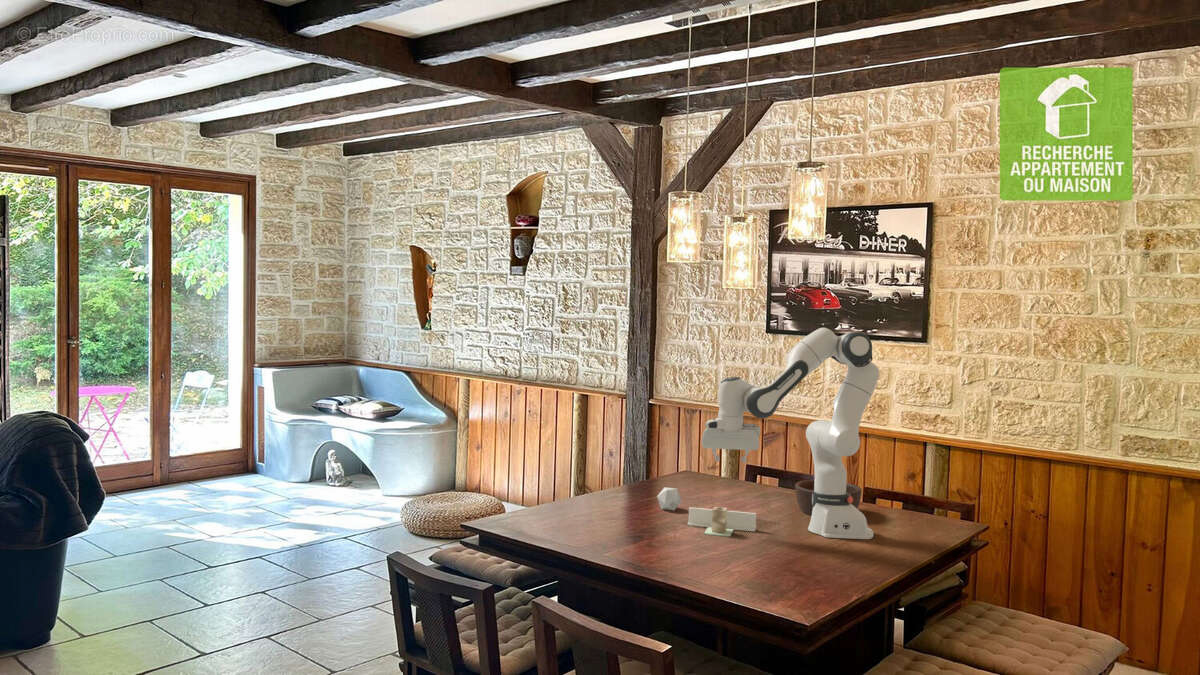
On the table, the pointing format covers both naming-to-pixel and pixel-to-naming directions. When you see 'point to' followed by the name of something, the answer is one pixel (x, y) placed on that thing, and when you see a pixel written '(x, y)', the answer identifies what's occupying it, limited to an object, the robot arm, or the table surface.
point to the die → (669, 498)
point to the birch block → (719, 519)
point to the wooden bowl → (806, 490)
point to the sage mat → (727, 533)
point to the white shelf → (734, 519)
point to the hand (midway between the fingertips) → (730, 461)
